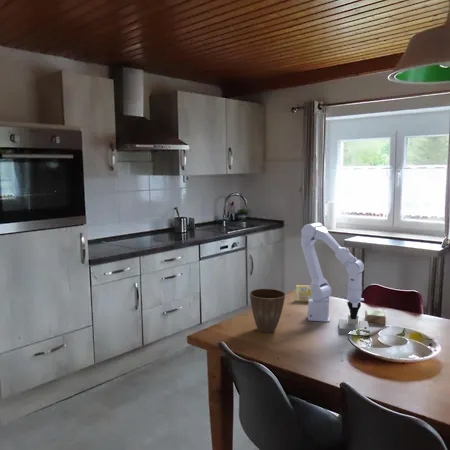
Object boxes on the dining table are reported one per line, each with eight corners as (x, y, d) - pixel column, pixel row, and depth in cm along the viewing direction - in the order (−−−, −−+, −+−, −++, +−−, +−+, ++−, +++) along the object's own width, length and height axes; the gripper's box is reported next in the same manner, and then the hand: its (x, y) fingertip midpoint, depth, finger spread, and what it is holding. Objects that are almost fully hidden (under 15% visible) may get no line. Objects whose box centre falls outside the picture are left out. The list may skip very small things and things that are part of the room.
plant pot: (286, 325, 196) (287, 290, 194) (281, 337, 182) (282, 299, 180) (253, 322, 200) (253, 287, 198) (245, 334, 186) (246, 296, 184)
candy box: (327, 301, 234) (327, 285, 233) (327, 302, 232) (328, 286, 231) (295, 300, 236) (296, 284, 235) (296, 301, 234) (296, 285, 233)
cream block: (357, 326, 196) (358, 316, 196) (348, 325, 197) (348, 315, 196) (356, 322, 200) (357, 313, 200) (347, 322, 201) (348, 312, 201)
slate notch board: (369, 336, 184) (369, 330, 183) (339, 334, 186) (339, 328, 186) (367, 326, 195) (367, 321, 195) (338, 324, 198) (338, 319, 198)
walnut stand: (366, 323, 199) (366, 314, 199) (365, 318, 207) (365, 309, 207) (385, 325, 197) (385, 316, 197) (383, 319, 205) (383, 310, 205)
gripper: (365, 293, 186) (364, 325, 187) (363, 284, 200) (361, 314, 201) (347, 292, 187) (346, 323, 189) (346, 283, 201) (345, 313, 203)
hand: (353, 318), depth 195 cm, fingers closed
